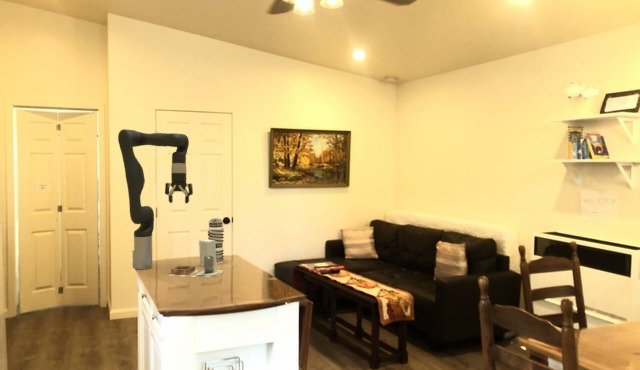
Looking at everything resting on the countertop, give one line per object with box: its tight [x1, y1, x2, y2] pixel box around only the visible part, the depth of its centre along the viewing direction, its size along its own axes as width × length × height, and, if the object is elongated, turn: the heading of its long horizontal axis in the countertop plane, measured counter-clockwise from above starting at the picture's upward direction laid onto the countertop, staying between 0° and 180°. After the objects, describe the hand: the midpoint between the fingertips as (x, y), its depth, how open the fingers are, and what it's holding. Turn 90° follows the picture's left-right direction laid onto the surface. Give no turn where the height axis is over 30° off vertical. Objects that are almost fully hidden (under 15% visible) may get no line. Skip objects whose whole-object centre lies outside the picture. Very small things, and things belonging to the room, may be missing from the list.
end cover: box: [203, 256, 214, 273], centre depth 240 cm, size 4×4×8 cm
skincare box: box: [198, 238, 218, 268], centre depth 259 cm, size 8×6×15 cm
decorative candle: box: [207, 218, 225, 265], centre depth 272 cm, size 9×9×25 cm
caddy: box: [165, 265, 224, 280], centre depth 241 cm, size 25×14×4 cm, turn 83°
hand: (178, 203), depth 250 cm, fingers open, 8 cm apart
